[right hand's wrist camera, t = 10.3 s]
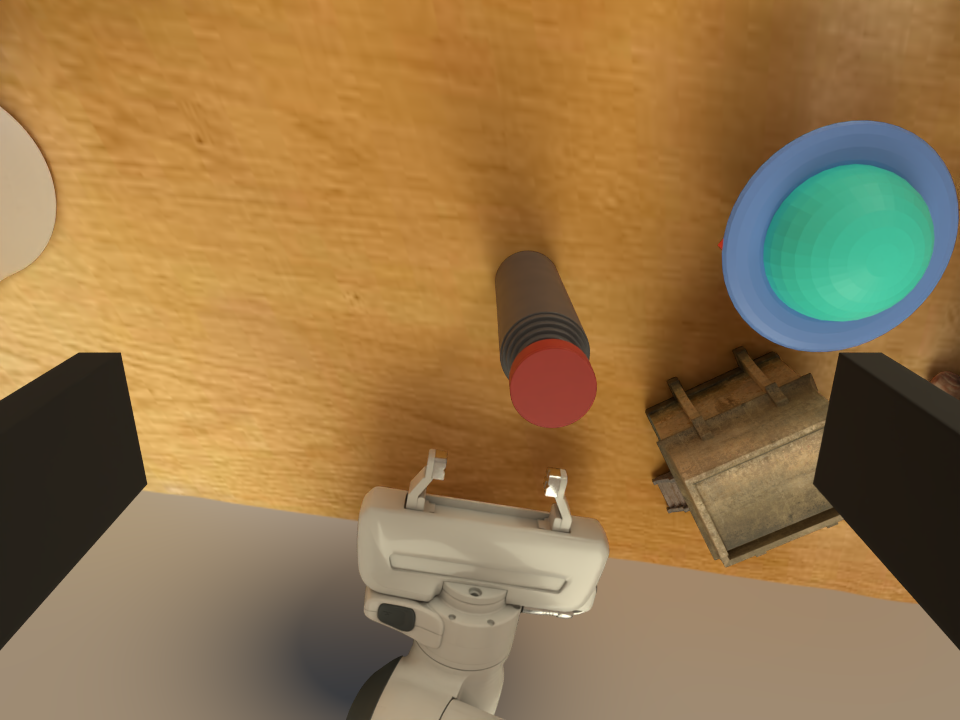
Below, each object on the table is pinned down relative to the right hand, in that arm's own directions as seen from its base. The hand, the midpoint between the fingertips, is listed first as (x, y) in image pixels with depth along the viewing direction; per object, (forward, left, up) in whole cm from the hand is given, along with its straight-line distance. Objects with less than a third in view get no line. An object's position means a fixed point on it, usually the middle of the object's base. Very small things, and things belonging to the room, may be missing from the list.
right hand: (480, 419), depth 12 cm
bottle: (-4, +7, -41) cm, 42 cm away
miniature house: (-22, +20, -41) cm, 51 cm away
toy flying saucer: (-23, +1, -41) cm, 47 cm away
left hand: (-2, +20, -35) cm, 40 cm away
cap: (-4, +7, -20) cm, 21 cm away
